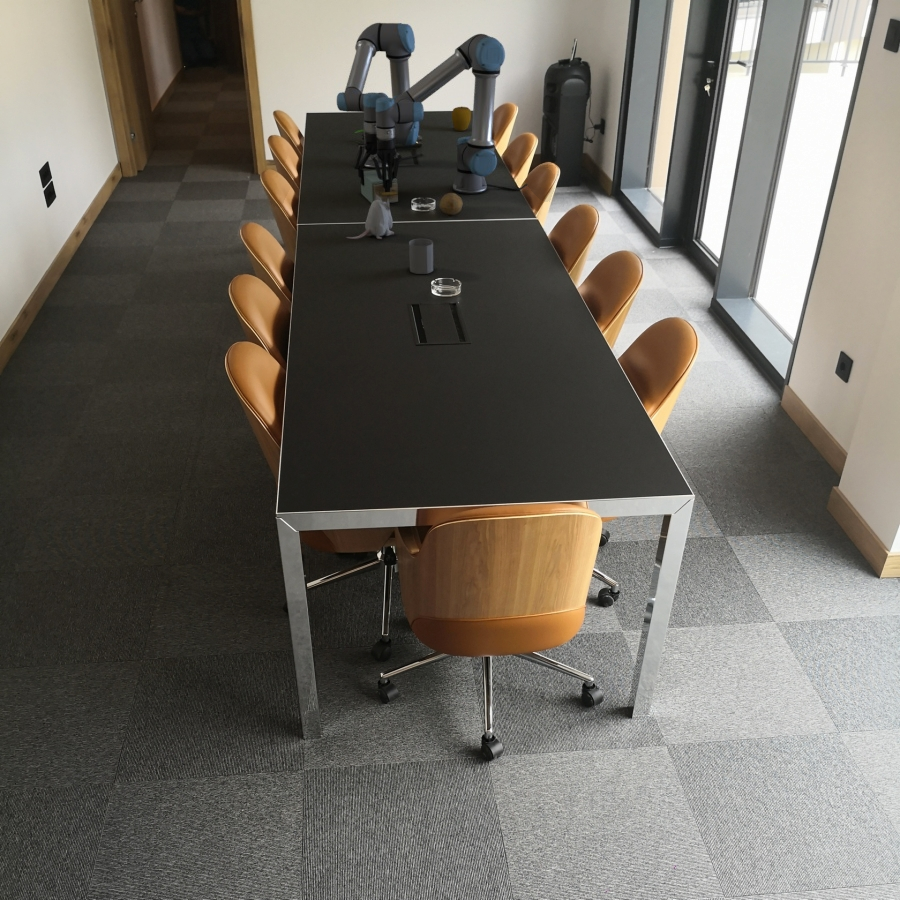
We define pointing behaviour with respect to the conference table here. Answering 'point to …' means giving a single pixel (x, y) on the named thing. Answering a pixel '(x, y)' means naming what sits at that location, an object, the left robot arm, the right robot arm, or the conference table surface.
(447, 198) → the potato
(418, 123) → the left robot arm
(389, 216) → the toy
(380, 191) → the drawer
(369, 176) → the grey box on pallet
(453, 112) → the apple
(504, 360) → the conference table surface
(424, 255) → the cup
